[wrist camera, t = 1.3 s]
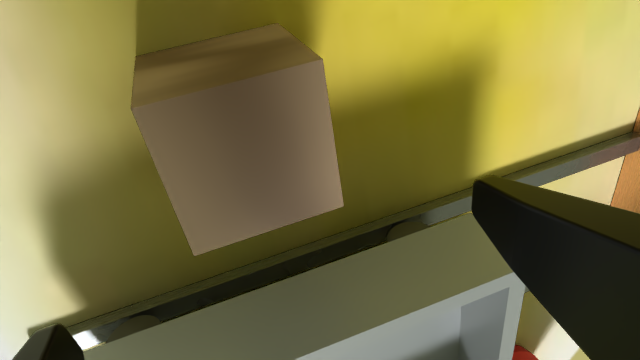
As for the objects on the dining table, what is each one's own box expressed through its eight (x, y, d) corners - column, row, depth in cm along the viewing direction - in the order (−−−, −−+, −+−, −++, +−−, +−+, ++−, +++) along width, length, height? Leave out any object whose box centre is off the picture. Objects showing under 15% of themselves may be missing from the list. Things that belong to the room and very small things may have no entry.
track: (132, 460, 25) (130, 531, 22) (10, 318, 18) (-17, 397, 15) (613, 260, 32) (660, 295, 29) (667, 98, 24) (737, 123, 22)
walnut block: (183, 177, 17) (194, 256, 13) (135, 55, 14) (130, 108, 10) (300, 142, 18) (343, 206, 14) (277, 22, 15) (322, 59, 11)
